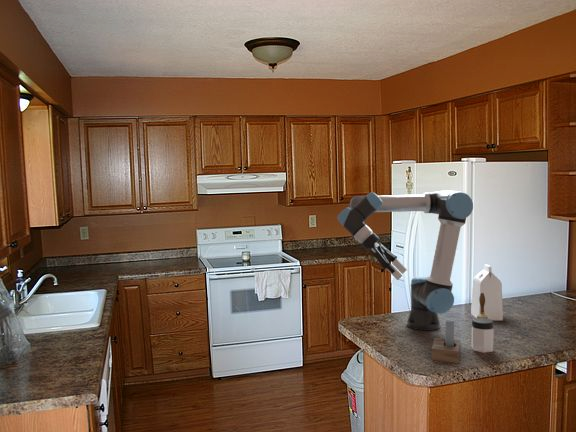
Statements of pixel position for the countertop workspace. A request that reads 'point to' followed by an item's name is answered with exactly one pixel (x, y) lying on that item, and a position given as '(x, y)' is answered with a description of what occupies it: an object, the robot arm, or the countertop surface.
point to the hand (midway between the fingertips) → (402, 274)
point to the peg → (449, 333)
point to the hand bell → (482, 306)
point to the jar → (482, 335)
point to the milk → (487, 294)
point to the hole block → (445, 351)
